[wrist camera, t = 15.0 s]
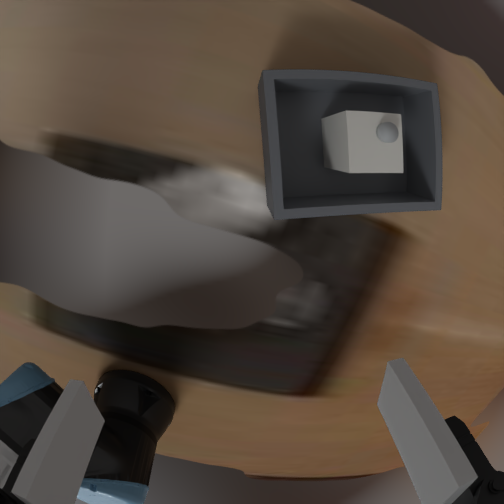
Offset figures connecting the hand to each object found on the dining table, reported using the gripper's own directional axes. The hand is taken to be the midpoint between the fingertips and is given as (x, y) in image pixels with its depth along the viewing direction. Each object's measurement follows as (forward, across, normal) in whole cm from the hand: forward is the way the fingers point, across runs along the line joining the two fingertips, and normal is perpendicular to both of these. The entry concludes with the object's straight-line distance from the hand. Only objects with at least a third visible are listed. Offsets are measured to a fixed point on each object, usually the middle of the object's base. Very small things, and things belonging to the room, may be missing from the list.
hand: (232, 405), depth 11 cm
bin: (+29, +14, +10) cm, 33 cm away
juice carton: (+28, +14, +10) cm, 33 cm away
